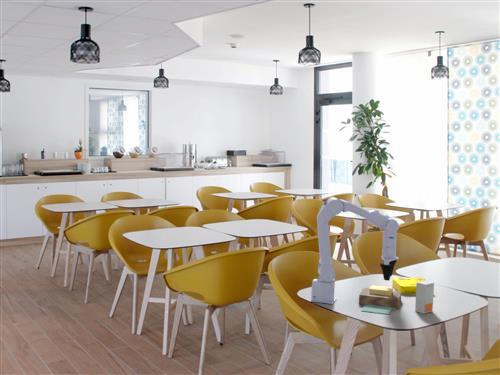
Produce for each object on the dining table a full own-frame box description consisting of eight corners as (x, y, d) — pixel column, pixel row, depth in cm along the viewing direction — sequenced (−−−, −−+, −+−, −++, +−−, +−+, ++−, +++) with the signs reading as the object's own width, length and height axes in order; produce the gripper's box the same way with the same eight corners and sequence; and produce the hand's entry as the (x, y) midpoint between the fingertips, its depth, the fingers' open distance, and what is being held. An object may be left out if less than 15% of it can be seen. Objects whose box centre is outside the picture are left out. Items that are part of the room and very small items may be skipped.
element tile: (400, 295, 247) (401, 285, 246) (391, 286, 261) (391, 276, 261) (434, 295, 247) (434, 285, 247) (422, 286, 262) (422, 276, 261)
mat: (361, 311, 222) (361, 310, 222) (364, 304, 230) (364, 304, 230) (389, 314, 218) (389, 313, 218) (391, 308, 226) (392, 307, 226)
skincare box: (423, 314, 219) (425, 284, 218) (414, 311, 223) (416, 282, 222) (433, 311, 223) (434, 282, 222) (424, 308, 226) (425, 280, 225)
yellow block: (369, 293, 233) (369, 288, 233) (371, 289, 239) (371, 285, 239) (391, 295, 230) (391, 291, 230) (392, 292, 236) (392, 287, 235)
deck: (358, 304, 231) (359, 294, 231) (363, 296, 242) (363, 287, 242) (398, 308, 225) (398, 299, 225) (401, 300, 237) (401, 291, 236)
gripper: (396, 250, 225) (395, 283, 226) (400, 244, 238) (399, 275, 239) (379, 249, 227) (378, 281, 229) (384, 242, 241) (383, 273, 242)
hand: (387, 278), depth 234 cm, fingers open, 7 cm apart
